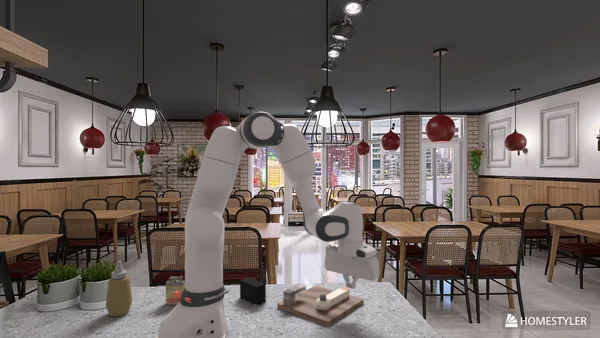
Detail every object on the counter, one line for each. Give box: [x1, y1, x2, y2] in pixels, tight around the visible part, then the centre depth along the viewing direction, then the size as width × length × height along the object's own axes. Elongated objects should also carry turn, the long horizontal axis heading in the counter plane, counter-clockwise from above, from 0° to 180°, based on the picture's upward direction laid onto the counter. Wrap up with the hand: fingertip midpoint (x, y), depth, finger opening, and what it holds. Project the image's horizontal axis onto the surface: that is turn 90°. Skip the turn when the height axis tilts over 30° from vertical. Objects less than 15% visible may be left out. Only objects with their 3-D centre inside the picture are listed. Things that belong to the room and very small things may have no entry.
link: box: [316, 286, 350, 311], centre depth 120 cm, size 18×5×2 cm, turn 140°
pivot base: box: [276, 283, 365, 327], centre depth 121 cm, size 23×22×6 cm
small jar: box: [165, 275, 185, 306], centre depth 123 cm, size 7×4×10 cm, turn 89°
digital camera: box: [239, 277, 267, 307], centre depth 126 cm, size 10×5×7 cm, turn 47°
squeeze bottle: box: [105, 260, 133, 318], centre depth 114 cm, size 8×8×18 cm
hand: (350, 287), depth 115 cm, fingers closed
